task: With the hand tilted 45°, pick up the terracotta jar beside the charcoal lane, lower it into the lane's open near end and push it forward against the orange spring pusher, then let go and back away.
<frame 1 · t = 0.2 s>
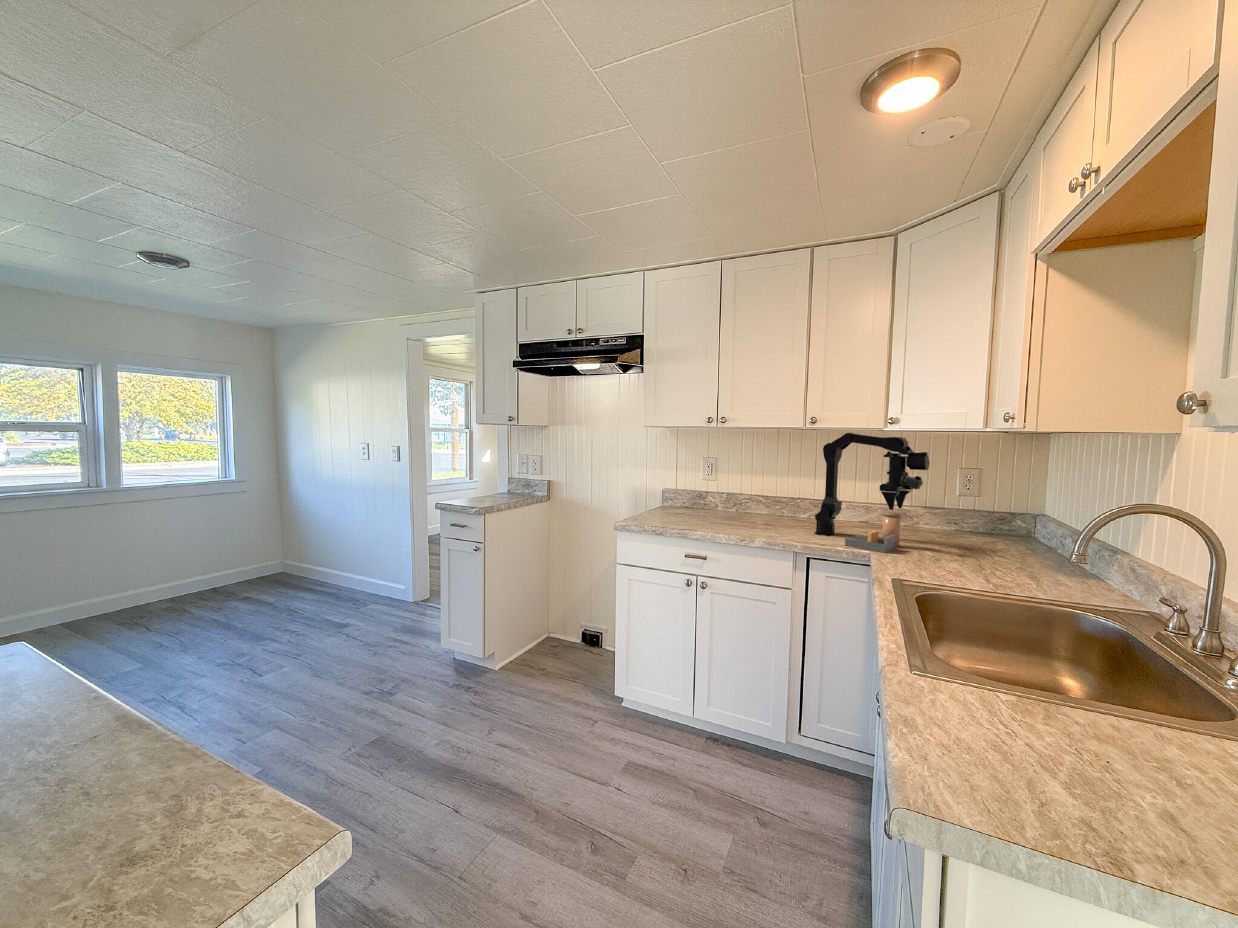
hand: (895, 508, 191), 14 cm above the worktop, tool pointing down, fingers open, 9 cm apart
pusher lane: (869, 547, 188), on the worktop
spring pusher: (873, 538, 187), point 4 cm above the worktop, slide at 0.0 cm
terracotta jar: (890, 545, 191), on the worktop
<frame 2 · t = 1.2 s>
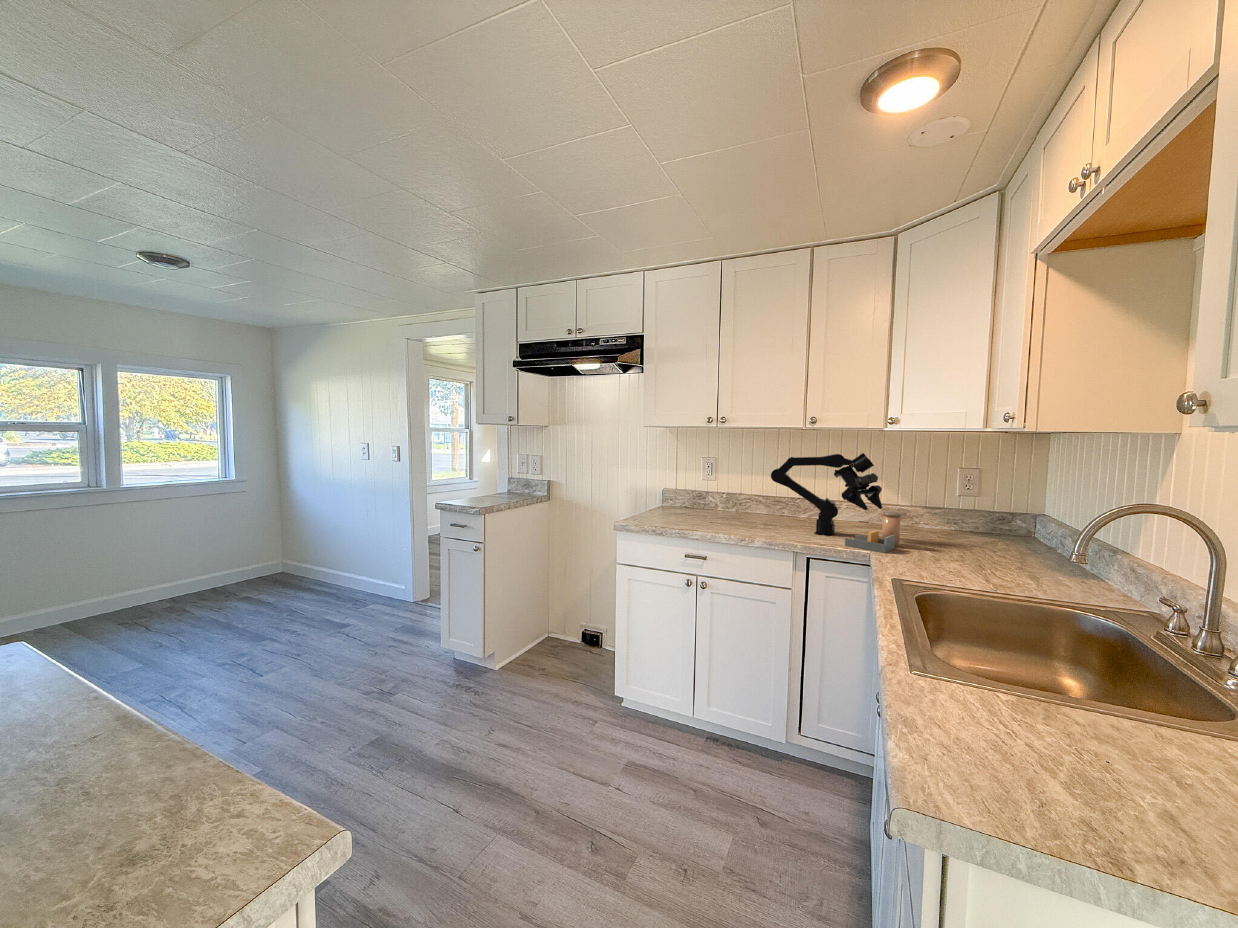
hand: (874, 508, 197), 13 cm above the worktop, tool tilted 45°, fingers open, 9 cm apart
nothing on the worktop moved.
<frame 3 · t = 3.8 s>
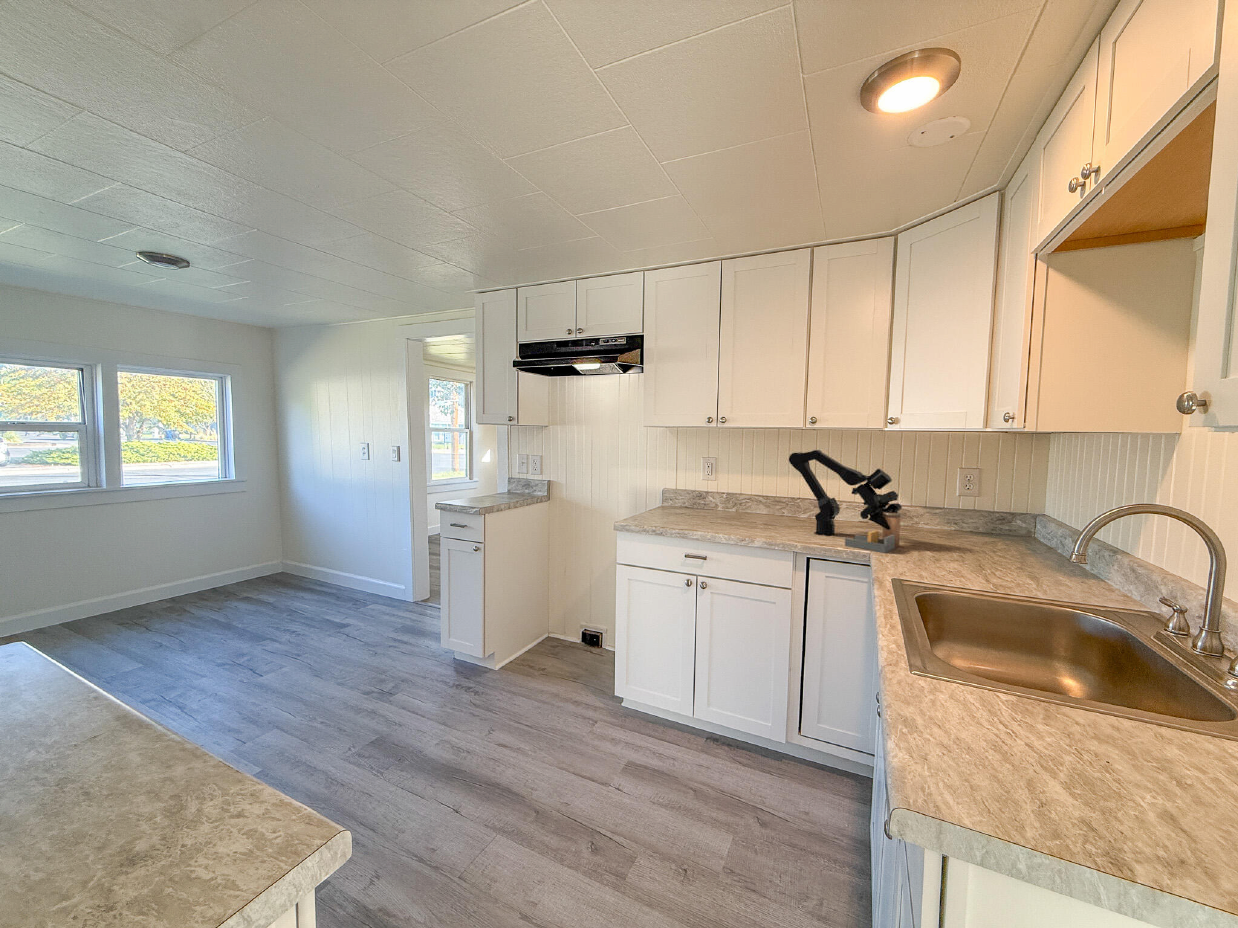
hand: (894, 528, 189), 7 cm above the worktop, tool tilted 45°, fingers closed on terracotta jar, 6 cm apart
terracotta jar: (890, 545, 191), on the worktop, touching gripper
everything else where it was.
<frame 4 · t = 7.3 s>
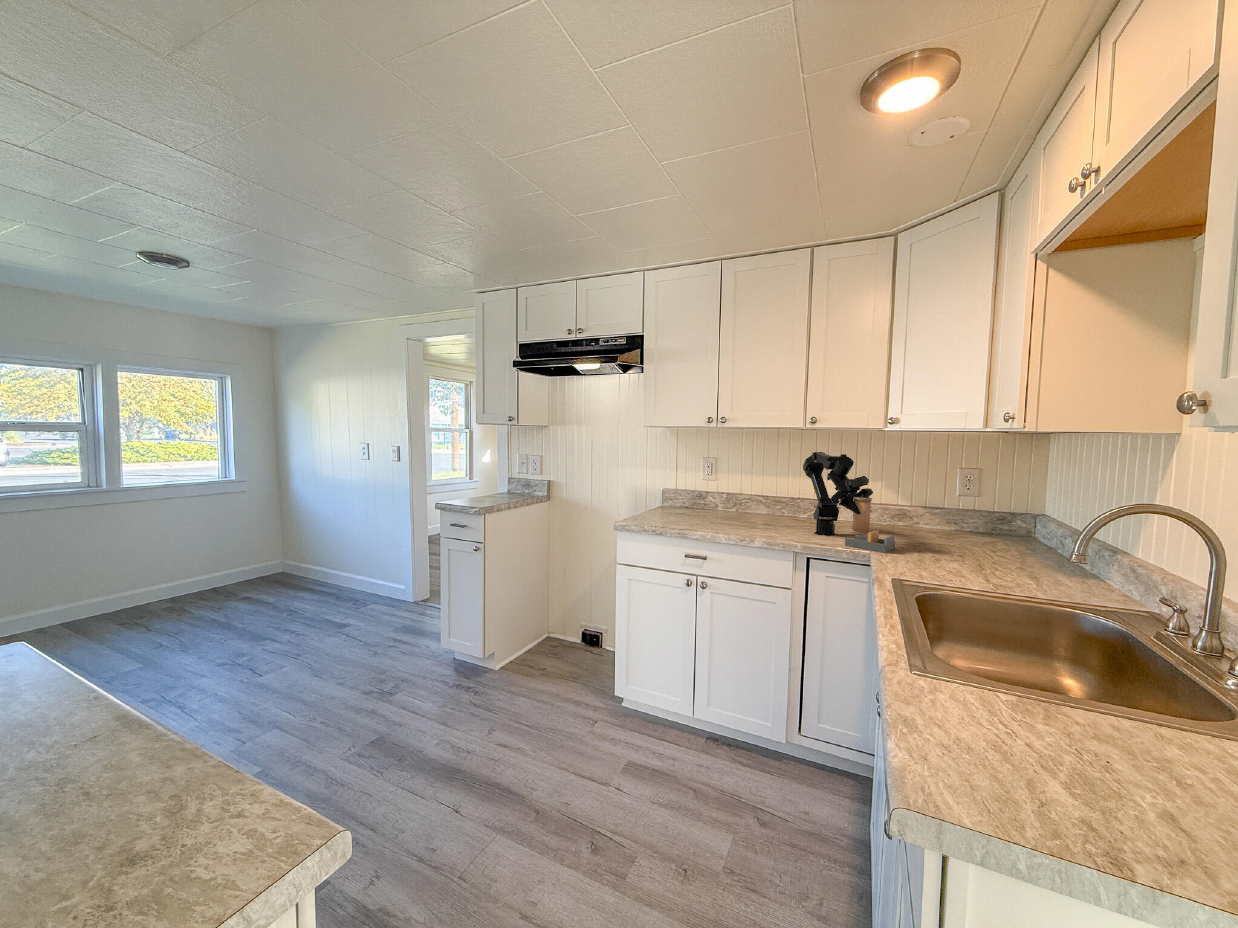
hand: (864, 513, 188), 13 cm above the worktop, tool tilted 45°, fingers closed on terracotta jar, 6 cm apart
terracotta jar: (860, 530, 190), point 6 cm above the worktop, touching gripper
everything else where it was.
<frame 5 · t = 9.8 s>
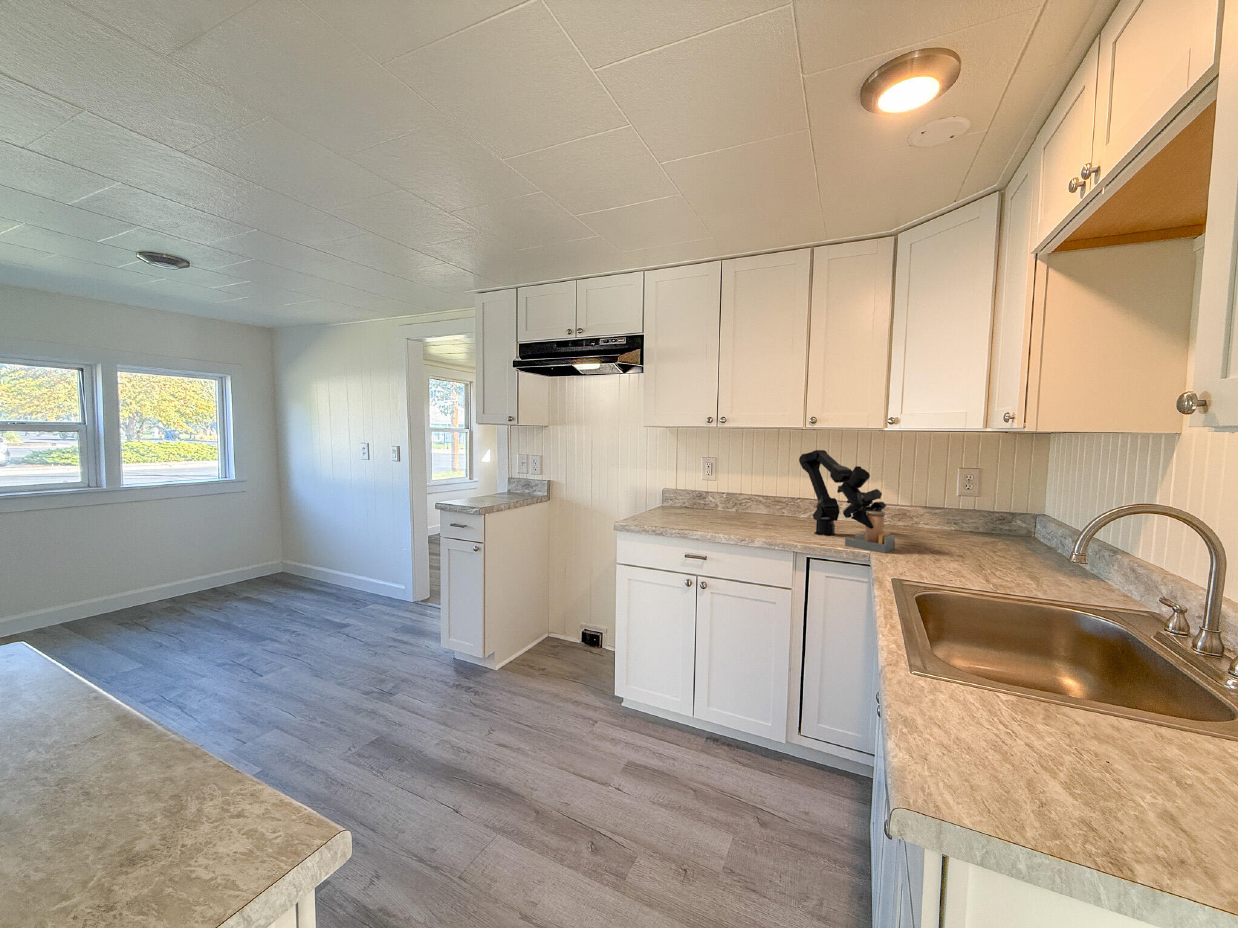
hand: (877, 527, 185), 8 cm above the worktop, tool tilted 45°, fingers closed on terracotta jar, 6 cm apart
spring pusher: (883, 540, 184), point 4 cm above the worktop, slide at 3.9 cm, touching terracotta jar
terracotta jar: (873, 545, 187), point 1 cm above the worktop, touching gripper, spring pusher
when the fingers open (8 cm above the worktop, at t = 10.9 s): terracotta jar stays where it is, resting on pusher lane, spring pusher.
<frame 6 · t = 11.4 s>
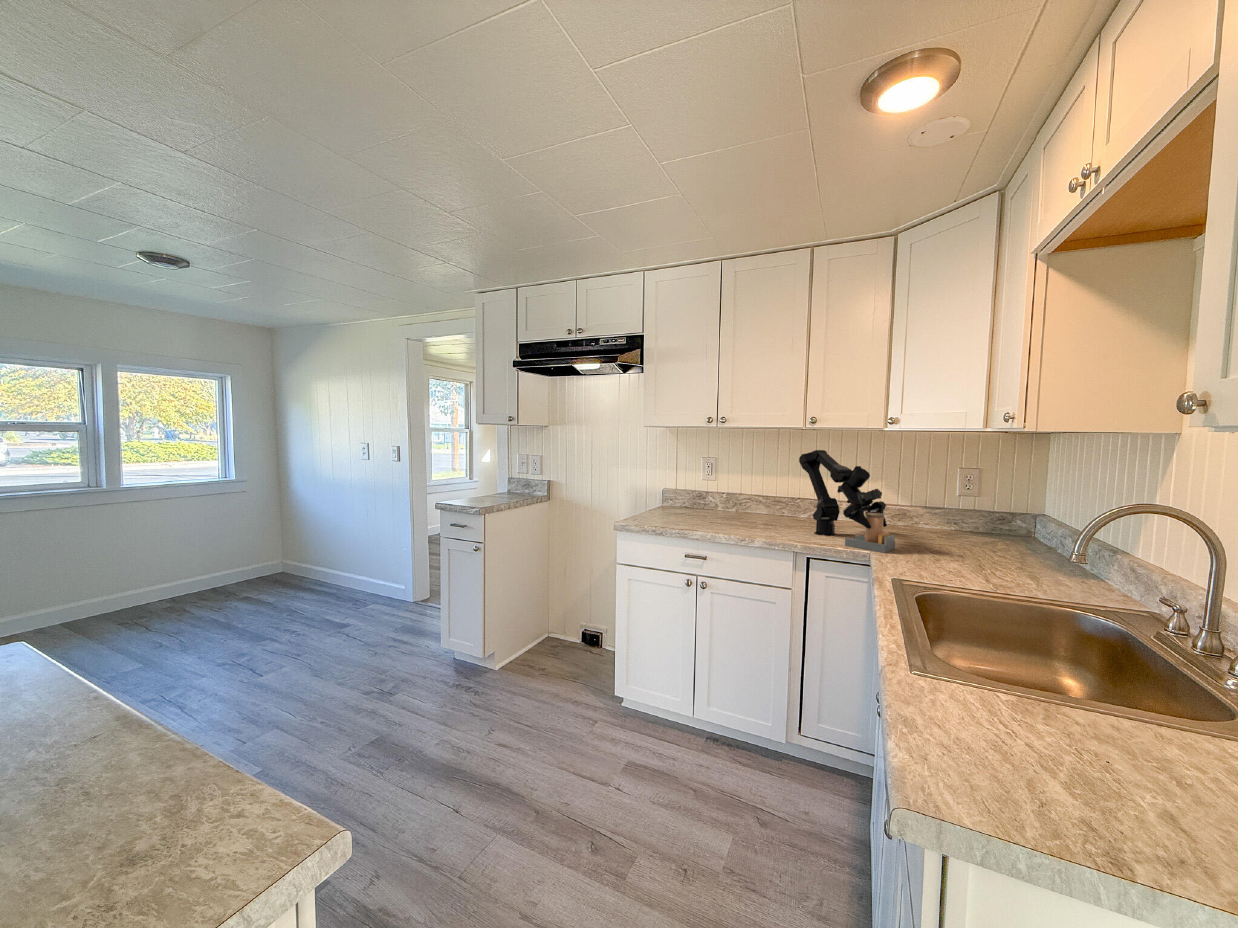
hand: (878, 527, 185), 8 cm above the worktop, tool tilted 45°, fingers open, 9 cm apart
terracotta jar: (873, 546, 187), resting on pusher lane, spring pusher
everything else where it was.
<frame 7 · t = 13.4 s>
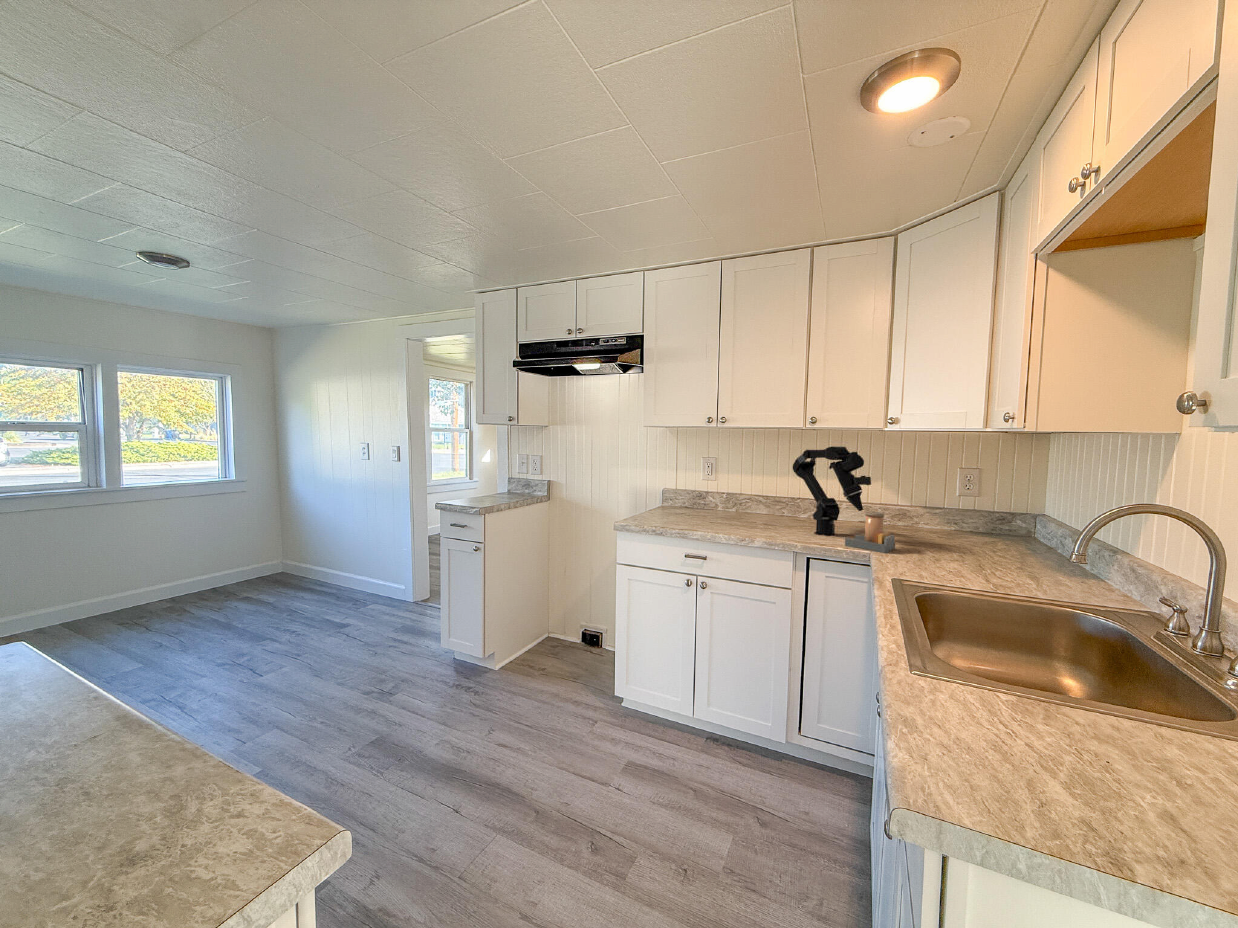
hand: (861, 510, 197), 13 cm above the worktop, tool tilted 25°, fingers open, 9 cm apart
nothing on the worktop moved.
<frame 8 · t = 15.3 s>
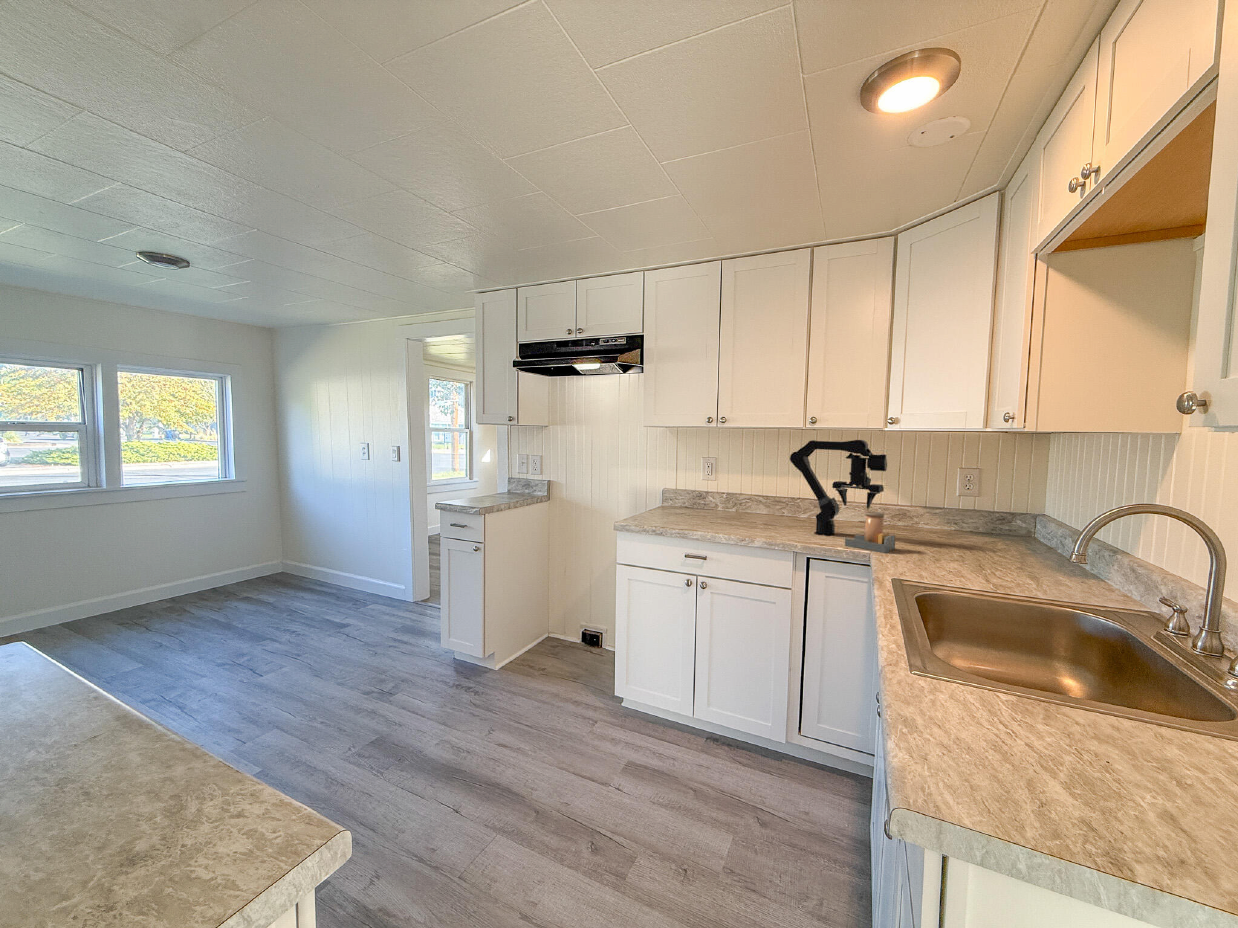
hand: (856, 507, 204), 13 cm above the worktop, tool pointing down, fingers open, 9 cm apart
nothing on the worktop moved.
at the end: terracotta jar 0.4 cm from the target spot on the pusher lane, point 0.5 cm above the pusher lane's base; spring pusher slide at 3.8 cm; terracotta jar tilted 0° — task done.
